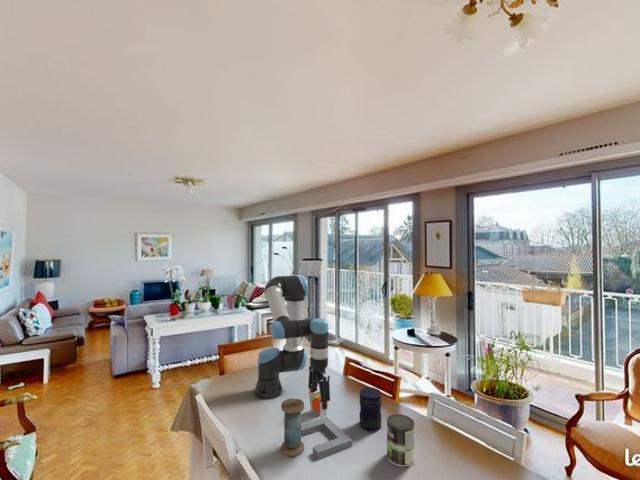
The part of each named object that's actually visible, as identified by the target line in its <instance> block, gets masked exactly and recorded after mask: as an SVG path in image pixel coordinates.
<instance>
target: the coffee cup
mask: <svg viewBox="0 0 640 480" xmlns="http://www.w3.org/2000/svg"><path fill="white" fill-rule="evenodd" d="M317 389H318V391H315V392H318V395H320V389H319V384H318V385H317ZM308 395H309V405H310V413H311V414H310V415H312V416H313V417H320V413H316V412H315V411H314V410H313V409H311V403H310V402H311V391H310V389H309V388H308Z"/></svg>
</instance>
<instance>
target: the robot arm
mask: <svg viewBox="0 0 640 480" xmlns="http://www.w3.org/2000/svg"><path fill="white" fill-rule="evenodd" d="M263 294H264V299H265V300H266V301H267V303H268V306H269V309H270V313H271V316H272V320H273V321H272V322H271V324H270V335H271V338H272V339H273V340H285V343H284V345H283V347H282V350H280V348H279V347H268V348H265V349H263V350H260V352H259V353H258V357H257V358H258V359H257V381H256V384H255V388H254V395H255V397H257V398H259V399H262V400H264V399H265V400H267V399H275V398H278V397H280V395H282V393H283V386H282V382H281V379H280V374H281V373H288V372H290V373H291V372H299V371H302V370H303V369H305V367H306V364H307V359H308V357H307V356H308V355H307V350H306V348H304V345H303V344H302V338H308V337H309V346H310V347H309V348H310V350H309V354H310V355H309V356H310V357H309V365H310V366H308V383H307V384H308V386H307V387H308V390H309V389H310V391H311V400H312V399H313V398H314V397H315V396H317V395H318V392H315V391H318V389H317V385H319V389H320V395H321V400H320V416H319V417H320V418H324V417H328V416H327V415H328V414H327V411H328V410H327V409H328V407H327V401H328V402H330V401H331V391H330V379H331V377H330V375H327V372H326V369H327V367H328V366H329V357H328V356H329V322H328V320H327V319H325V318H320V317H319V318H313V317H312V316H311V317H306V318H304V319H302V313H303V311H302V310H303V303H304V301H306V300H305V299H306V298H305V297H308V296H309V285H308V281H307V279H306V277H305V276H304V275H278V276H274V277H272V278H271V279H270V280H269V281H267V282H266V285H265V286H264V290H263ZM285 303H286V304H285ZM311 409H313V408H312V401H311V407H310V410H311Z"/></svg>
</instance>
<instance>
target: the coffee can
mask: <svg viewBox="0 0 640 480" xmlns="http://www.w3.org/2000/svg"><path fill="white" fill-rule="evenodd" d="M415 424H416V423H415V421H414V420H413V419H412V418H411V417H409V415H408V416H407V415H406V414H401V413H400V414H399V413H394V414H390V415H389V416H387V418H386V428H387V429H386V435H387V436H386V438H387V439H386V458H387V460H388V462H389V463H391V464H392V465H394V466H396V465H397V466H396V467H399V466H402V467H401V468H405V467H404V466H409V467H411V466H412V465H414V464H415V463H414V462H415ZM410 465H411V466H410Z"/></svg>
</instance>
